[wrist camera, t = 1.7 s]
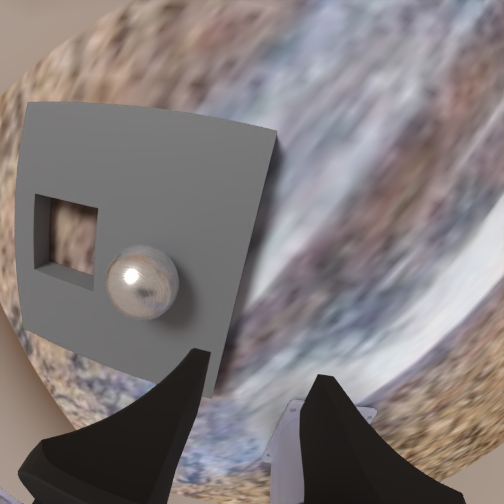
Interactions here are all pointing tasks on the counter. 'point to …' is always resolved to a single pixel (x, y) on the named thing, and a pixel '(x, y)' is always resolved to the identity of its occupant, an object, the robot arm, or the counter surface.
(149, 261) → the steel ball
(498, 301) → the counter surface
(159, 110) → the hole board
